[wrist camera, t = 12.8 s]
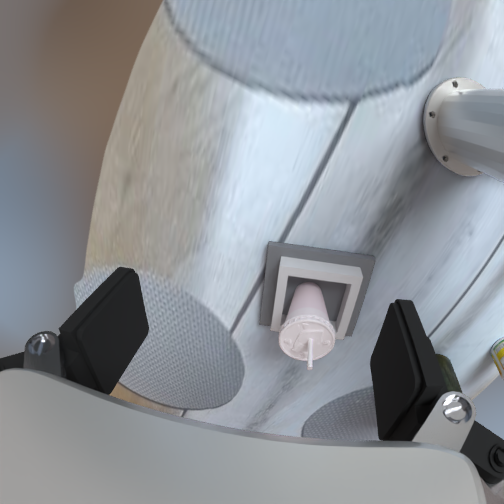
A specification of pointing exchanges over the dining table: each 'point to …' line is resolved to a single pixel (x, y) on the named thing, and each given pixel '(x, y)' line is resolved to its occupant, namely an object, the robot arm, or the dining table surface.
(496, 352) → the supplement bottle
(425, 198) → the dining table surface
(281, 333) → the smoothie
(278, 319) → the dock
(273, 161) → the dining table surface
